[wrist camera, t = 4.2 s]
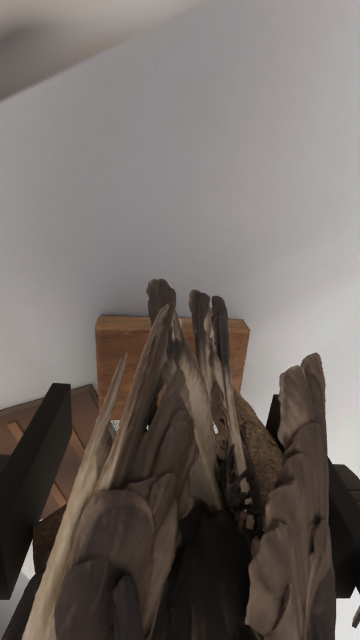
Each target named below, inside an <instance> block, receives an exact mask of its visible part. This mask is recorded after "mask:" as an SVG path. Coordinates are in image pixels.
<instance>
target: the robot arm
mask: <svg viewBox="0 0 360 640" xmlns="http://www.w3.org/2000/svg"><path fill="white" fill-rule="evenodd" d="M278 397H279V395H277V394H274V395H273V399H272V403H271V407H270V412H269V416H268V420H267V424H266V429H267V430H268V431H269V433H270V435H271V436H272V437H273V438H274V439H275V441H276V442H277V445H278V447H279V449H280V450H281V452H282V453H283V454H284V450H285V449H284V446H283V445H282V443H281V442H280V441H279V439H278V436H277V432H278V429H279V427H280V420H281V413H280V406H281V403H280V401H279V399H278ZM71 436H72V409H71V384H61V383H53V384H52V385H51V387H50V389H49V391H48V392H47V394H46V396H45V397H44V399H43V401H42V403H41V404H40V406H39V408H38V410H37V411H36V413H35V415H34V416H33V418H32V420H31V422H30V423H29V425H28V427H27V429H26V430H25V432H24V434H23V435H22V437H21V439H20V441H19V442H18V444H17V446H16V448H15V449H14V451H13V453H12V454H11V455H6V454H0V600H10V597H11V595H12V592H13V590H14V587H15V584H16V582H17V579H18V576H19V573H20V571H21V568H22V566H23V563H24V560H25V558H26V555H27V552H28V550H29V547H30V544H31V542H32V539H33V526H34V525H35V524H37V523H39V521H40V518H41V515H42V513H43V510H44V507H45V505H46V502H47V499H48V497H49V494H50V491H51V489H52V486H53V483H54V481H55V478H56V475H57V473H58V470H59V467H60V465H61V462H62V459H63V457H64V454H65V451H66V449H67V446H68V444H69V441H70V438H71ZM327 459H328V469H329V517H328V525H329V528H330V536H331V550H332V562H333V567H334V572H335V593H336V598H350V597H351V595H352V593H353V591H354V589H355V587H356V588H357V590H358V592H359V594H360V480H359V478H358V477H357V476H356V475H355V474H354V473H353V472H352V471H351V470H350V469H349V468H348V467H346V466H345V465H340V464H332V462H331V461H330V459H329V458H328V456H327ZM359 622H360V606H359V608H358V610H357V612H356V614H355V616H354V618H353V622H352V627H354V628H356V627H357V626H358V624H359Z"/></svg>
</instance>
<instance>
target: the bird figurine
mask: <svg viewBox="0 0 360 640" xmlns="http://www.w3.org/2000/svg"><path fill="white" fill-rule="evenodd" d="M146 291H147V294H148V296H149V301H148V309H149V317H132V316H99V318H98V320H97V323H96V325H95V337H96V358H97V380H98V402H99V415H98V417H97V420H96V423H95V427H94V429H93V432H92V435H91V437H90V440H89V442H88V445H87V447H86V449H85V454H84V457H83V460H82V463H81V465H80V467H79V470H78V474H77V476H76V478H75V483H74V486H73V488H72V491H71V494H70V497H69V500H68V503H67V504H65V505H63V506H62V507H61V508H59V509H58V510H55V512H54V513H52V514H50V515H49V516H48V517H46V518H45V519H43V520H42V521H40V522H39V523H37V524H35V525H34V526H33V543H32V544H33V561H34V568H35V573H36V574H35V575H34V576H33V577H32V578H31V580H30V581H29V583H28V585H27V587H26V589H25V590H24V593H23V596H22V598H21V600H20V601H19V603H18V605H17V608H16V610H15V612H14V614H13V616H12V619H11V621H10V623H9V625H8V627H7V629H6V631H5V633H4V635H3V637H2V640H335V624H336V593H335V572H334V567H333V562H332V550H331V536H330V528H329V525H328V517H329V469H328V459H327V433H326V420H325V378H324V375H323V373H324V372H323V368H322V362H321V358H320V355H319V354H318V353H313V354H311V355H308V356H307V357H305V358H304V359H303V360H302V363H301V366H299V365H297V366H294V367H291V368H289V369H288V370H287V371H286V372H284V373H282V374H281V375H280V393H279V397H278V399H279V401H280V403H281V406H280V413H281V420H280V427H279V429H278V432H277V436H278V439H279V441H280V442H281V443H282V445H283V446H284V449H285V450H284V454H283V453H282V452H281V450H280V449H279V447H278V445H277V442H276V441H275V439H274V438H273V437H272V436H271V435H270V433H269V431H268V430H267V429H266V428H265V426H264V425H263V424H262V423H261V421H260V420H259V419H258V417H257V416H256V413H255V412H254V410H253V409H252V407H251V406H250V405H249V404H248V402H247V401H245V400H244V398H243V397H242V396H241V395H240V390H241V383H242V377H243V371H244V365H245V359H246V353H247V346H248V340H249V334H250V329H249V328H248V326H247V325H246V323H245V322H244V320H243V319H228V315H227V308H226V306H225V302H224V300H223V299H222V298H221V297H219V296H213V297H212V309H211V308H210V307H209V302H210V297H209V296H208V295H207V294H205V293H201V292H200V291H198V290H192V291H191V292H190V302H189V307H190V311H191V312H192V318H179V317H178V315H177V313H176V311H175V307H176V293H175V290H174V289H172V288H170V286H169V284H168V283H167V281H165V280H164V279H158V280H156V279H153V280H151V281H150V282H149V283H148V287H147V290H146ZM211 314H212V316H211ZM109 420H120V423H119V428H118V431H117V434H116V438H115V440H114V442H113V444H112V435H109V432H108V431H109ZM213 422H214V424H215V425H216V427H217V428H218V432H219V433H217V434H215V432H214V428H213V426H214V424H213ZM147 425H148V426H149V428H148V430H147V429H146V428H147ZM263 529H264V530H263Z"/></svg>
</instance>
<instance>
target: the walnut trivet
mask: <svg viewBox="0 0 360 640" xmlns="http://www.w3.org/2000/svg"><path fill="white" fill-rule="evenodd" d="M43 399H44V398H42V399H39V400H35V401H32V402H28V403H25V404H21V405H18V406H14V407H11V408H7V409H4V410H0V454H6V455H11V454H12V453H13V451H14V449H15V448H16V446H17V444H18V442H19V441H20V439H21V437H22V435H23V434H24V432H25V430H26V429H27V427H28V425H29V423H30V422H31V420H32V418H33V416H34V415H35V413H36V411H37V410H38V408H39V406H40V404H41V403H42V401H43ZM71 409H72V436H71V438H70V441H69V444H68V446H67V449H66V451H65V454H64V457H63V459H62V462H61V465H60V467H59V470H58V473H57V475H56V478H55V481H54V483H53V486H52V489H51V491H50V494H49V497H48V499H47V502H46V505H45V507H44V510H43V513H42V515H41V518H40V519H45V518H46V517H48V516H49V515H50V514H52V513H54V512H55V510H58V509H59V508H61V507H62V506H63V505H65V504H67V503H68V500H69V497H70V494H71V491H72V488H73V486H74V483H75V478H76V476H77V474H78V470H79V467H80V465H81V463H82V460H83V457H84V454H85V449H86V447H87V445H88V442H89V440H90V437H91V435H92V432H93V429H94V427H95V423H96V420H97V417H98V415H99V402H98V397H97V395H96V392H95V390H94V388H93V386H92V385H88V386H84V387H81V388H77V389H74V390H71ZM108 432H109V435H112V444H113V442H114V440H115V438H116V434H115V431H114V429H113V427H112V425H111V423H110V421H109V431H108Z"/></svg>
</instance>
